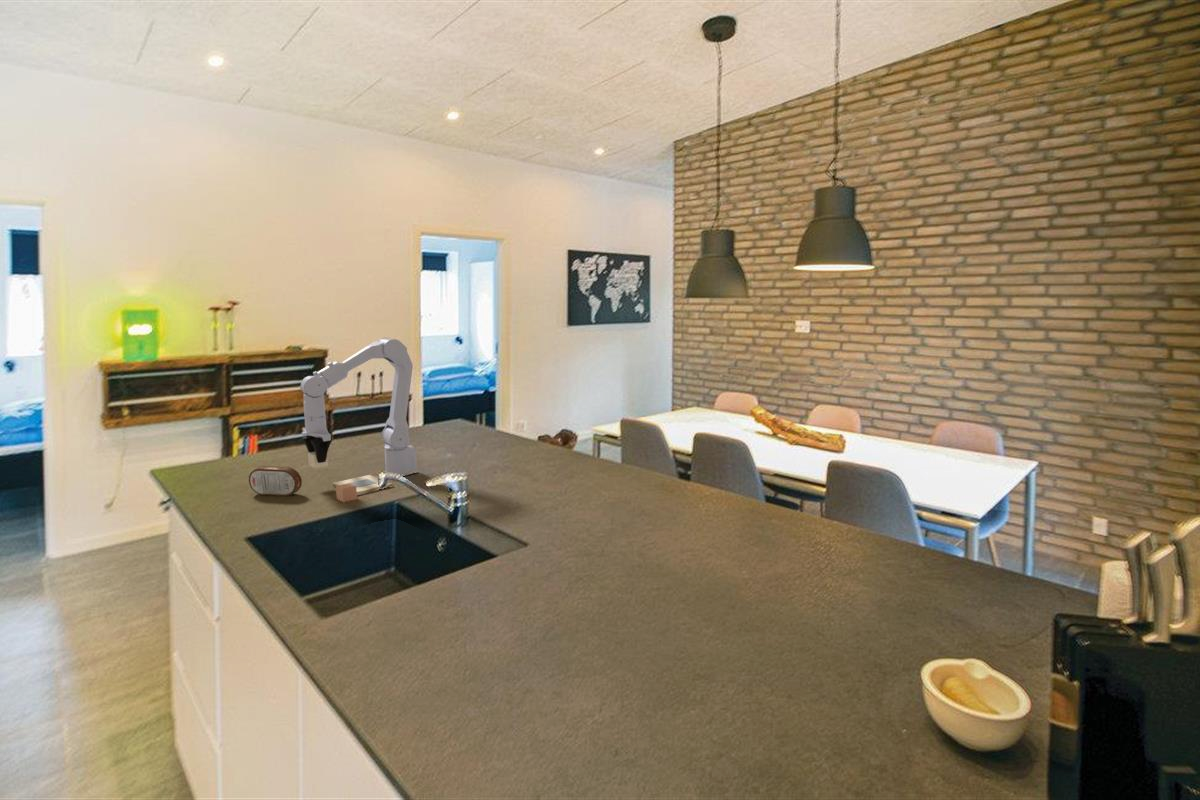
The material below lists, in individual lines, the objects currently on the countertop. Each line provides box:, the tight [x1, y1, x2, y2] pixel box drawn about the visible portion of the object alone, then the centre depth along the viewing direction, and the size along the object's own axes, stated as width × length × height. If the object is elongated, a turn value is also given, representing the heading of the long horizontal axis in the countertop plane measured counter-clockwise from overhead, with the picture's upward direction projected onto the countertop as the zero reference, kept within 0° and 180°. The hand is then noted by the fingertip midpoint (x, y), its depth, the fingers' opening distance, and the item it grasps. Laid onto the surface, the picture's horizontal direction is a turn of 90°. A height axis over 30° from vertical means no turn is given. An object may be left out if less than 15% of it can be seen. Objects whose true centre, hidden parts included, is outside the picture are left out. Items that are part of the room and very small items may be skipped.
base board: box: [332, 474, 394, 496], centre depth 188 cm, size 12×14×1 cm
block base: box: [307, 452, 329, 469], centre depth 186 cm, size 4×4×4 cm
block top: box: [335, 483, 358, 503], centre depth 176 cm, size 4×4×4 cm
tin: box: [248, 465, 303, 497], centre depth 179 cm, size 15×3×8 cm, turn 84°
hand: (318, 460), depth 186 cm, fingers closed on block base, 4 cm apart
